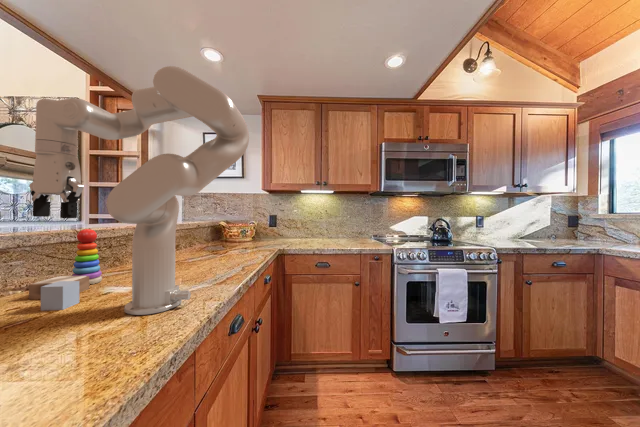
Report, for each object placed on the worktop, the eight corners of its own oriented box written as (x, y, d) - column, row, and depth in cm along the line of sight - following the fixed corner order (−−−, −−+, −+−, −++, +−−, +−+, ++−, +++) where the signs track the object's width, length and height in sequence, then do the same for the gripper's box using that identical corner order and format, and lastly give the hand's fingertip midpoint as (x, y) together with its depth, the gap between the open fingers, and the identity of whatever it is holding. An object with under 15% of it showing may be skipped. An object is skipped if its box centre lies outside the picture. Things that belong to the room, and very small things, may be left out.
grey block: (79, 302, 69) (79, 280, 69) (62, 310, 64) (62, 286, 64) (59, 303, 68) (59, 281, 68) (40, 310, 63) (40, 286, 63)
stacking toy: (63, 286, 84) (63, 229, 83) (89, 279, 91) (89, 228, 91) (83, 287, 82) (83, 230, 82) (108, 280, 90) (108, 228, 90)
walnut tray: (89, 288, 81) (89, 275, 81) (64, 298, 72) (64, 283, 72) (58, 289, 80) (58, 276, 80) (28, 299, 71) (28, 284, 71)
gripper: (98, 153, 67) (96, 218, 67) (51, 154, 71) (49, 215, 71) (63, 146, 59) (61, 219, 59) (13, 148, 63) (11, 216, 63)
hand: (54, 217), depth 65 cm, fingers open, 9 cm apart
